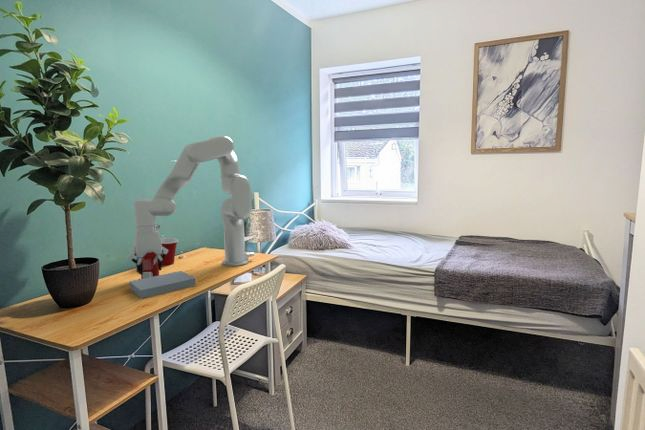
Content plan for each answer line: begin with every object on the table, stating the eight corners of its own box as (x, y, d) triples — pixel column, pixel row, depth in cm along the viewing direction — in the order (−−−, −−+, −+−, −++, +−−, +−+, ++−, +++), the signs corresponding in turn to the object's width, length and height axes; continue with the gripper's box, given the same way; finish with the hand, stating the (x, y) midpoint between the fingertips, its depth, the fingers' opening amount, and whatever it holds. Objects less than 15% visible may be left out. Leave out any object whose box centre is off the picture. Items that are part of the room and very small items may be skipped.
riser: (181, 277, 151) (181, 270, 151) (196, 285, 141) (195, 278, 140) (129, 289, 138) (129, 281, 137) (141, 298, 127) (140, 290, 127)
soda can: (152, 281, 146) (150, 252, 145) (137, 280, 147) (135, 252, 146) (162, 276, 153) (160, 249, 151) (148, 276, 154) (146, 248, 152)
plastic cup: (172, 267, 167) (170, 242, 166) (150, 266, 169) (148, 241, 167) (184, 261, 178) (182, 237, 176) (164, 260, 179) (162, 237, 178)
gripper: (165, 225, 156) (167, 265, 158) (120, 230, 144) (124, 274, 147) (171, 227, 150) (174, 269, 153) (125, 233, 139) (129, 278, 141)
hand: (149, 271), depth 150 cm, fingers closed on soda can, 6 cm apart
